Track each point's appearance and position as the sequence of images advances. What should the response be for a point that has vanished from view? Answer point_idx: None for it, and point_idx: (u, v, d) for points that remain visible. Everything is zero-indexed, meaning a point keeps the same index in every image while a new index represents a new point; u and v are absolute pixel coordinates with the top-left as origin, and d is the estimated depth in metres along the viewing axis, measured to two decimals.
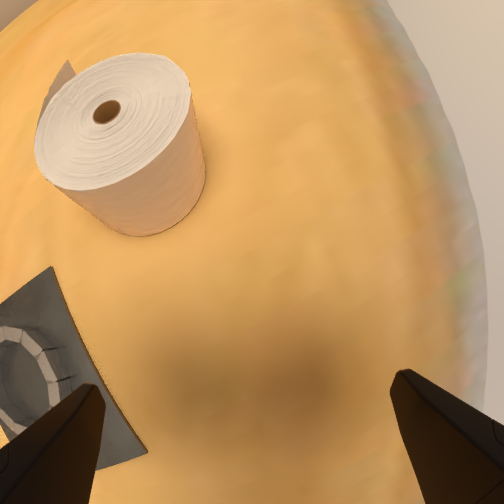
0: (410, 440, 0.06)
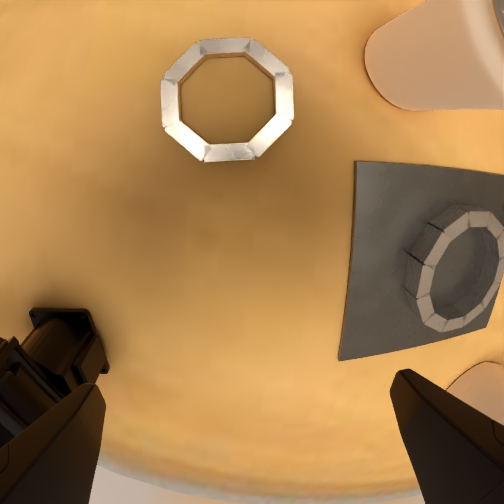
0: (410, 440, 0.06)
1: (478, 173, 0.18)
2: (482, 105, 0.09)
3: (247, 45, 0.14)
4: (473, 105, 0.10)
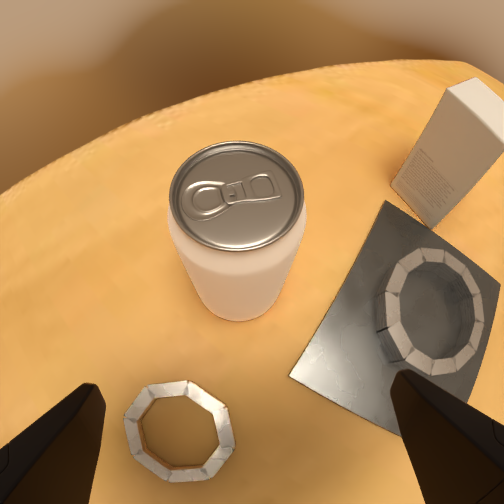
0: (410, 440, 0.06)
1: (361, 253, 0.24)
2: (285, 270, 0.15)
3: (149, 392, 0.19)
4: (283, 275, 0.16)
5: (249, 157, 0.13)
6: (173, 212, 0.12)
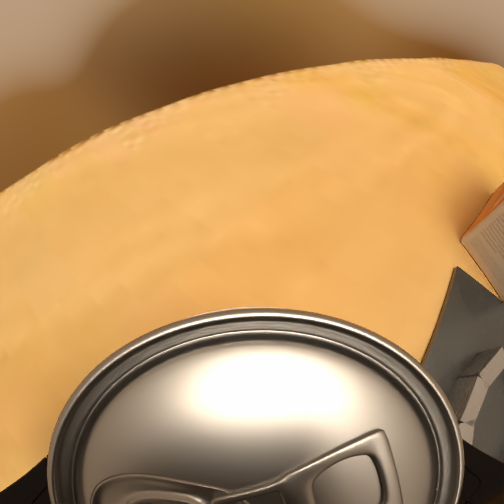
0: None
1: (428, 358, 0.14)
2: None
3: None
4: None
5: (307, 376, 0.03)
6: None
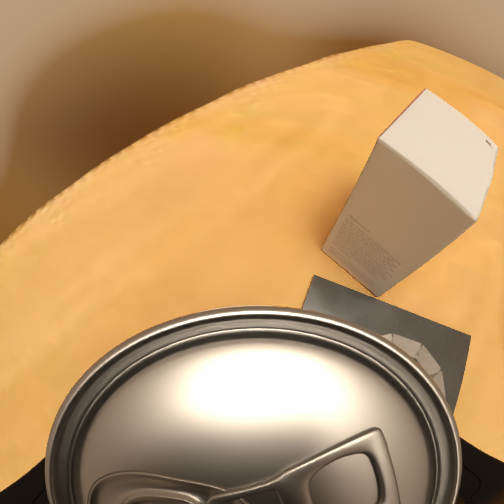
0: None
1: None
2: None
3: None
4: None
5: (304, 374, 0.03)
6: None
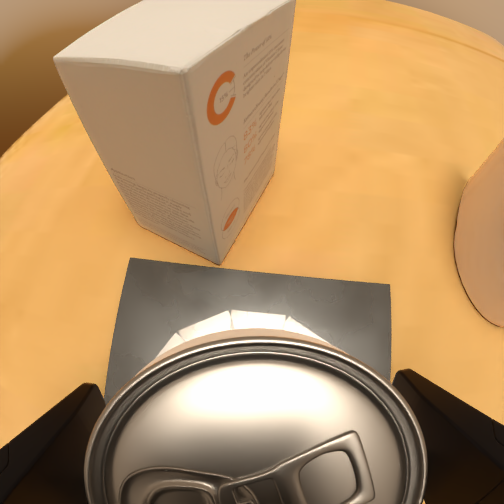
0: None
1: (110, 364, 0.15)
2: None
3: None
4: None
5: (294, 388, 0.04)
6: None
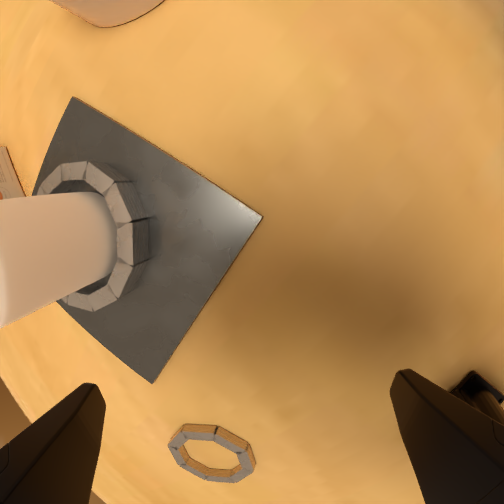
0: (410, 440, 0.06)
1: None
2: (33, 239, 0.11)
3: (182, 464, 0.23)
4: (43, 236, 0.12)
5: None
6: None
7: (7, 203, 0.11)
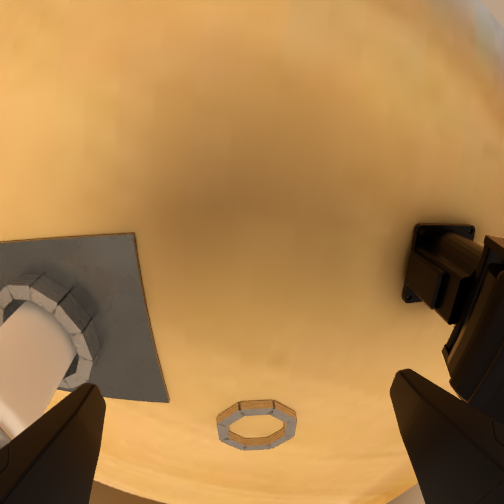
0: (410, 440, 0.06)
1: (65, 390, 0.24)
2: (5, 367, 0.13)
3: (244, 447, 0.27)
4: (10, 360, 0.13)
5: None
6: None
7: None
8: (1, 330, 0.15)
